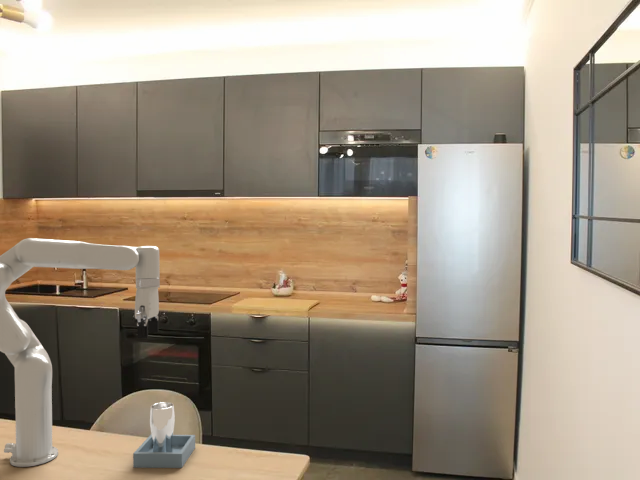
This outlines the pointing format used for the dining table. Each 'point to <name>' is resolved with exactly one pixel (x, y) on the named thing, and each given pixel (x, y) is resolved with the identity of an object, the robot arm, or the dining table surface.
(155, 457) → the tray
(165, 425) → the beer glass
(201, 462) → the dining table surface
